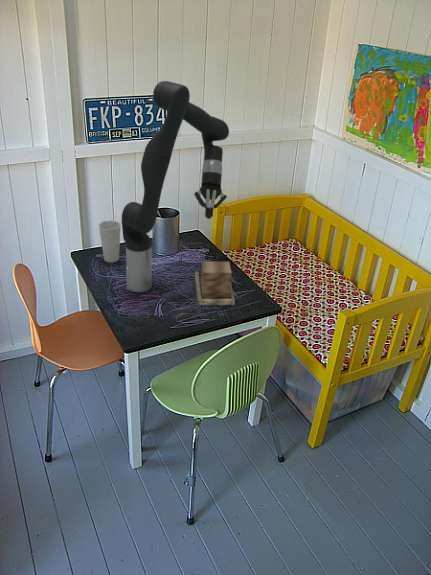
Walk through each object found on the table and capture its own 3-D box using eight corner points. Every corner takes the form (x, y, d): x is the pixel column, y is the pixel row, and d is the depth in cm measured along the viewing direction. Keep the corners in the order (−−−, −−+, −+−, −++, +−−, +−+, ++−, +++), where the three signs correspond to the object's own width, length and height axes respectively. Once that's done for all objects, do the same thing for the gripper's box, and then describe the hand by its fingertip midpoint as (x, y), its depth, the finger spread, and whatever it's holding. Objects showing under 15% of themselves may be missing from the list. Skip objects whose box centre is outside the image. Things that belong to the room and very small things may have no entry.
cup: (118, 253, 229) (117, 219, 220) (124, 262, 222) (123, 228, 214) (98, 256, 226) (96, 221, 217) (103, 265, 219) (101, 230, 211)
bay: (191, 308, 197) (191, 301, 195) (188, 278, 214) (188, 271, 213) (240, 307, 199) (241, 301, 197) (234, 278, 216) (234, 271, 215)
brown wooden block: (201, 301, 199) (203, 272, 192) (200, 289, 206) (201, 261, 199) (229, 301, 200) (231, 272, 194) (227, 289, 207) (229, 261, 200)
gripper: (196, 169, 204) (192, 214, 203) (230, 173, 206) (227, 218, 205) (193, 174, 212) (190, 218, 211) (227, 177, 213) (224, 221, 212)
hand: (208, 218), depth 208 cm, fingers closed
